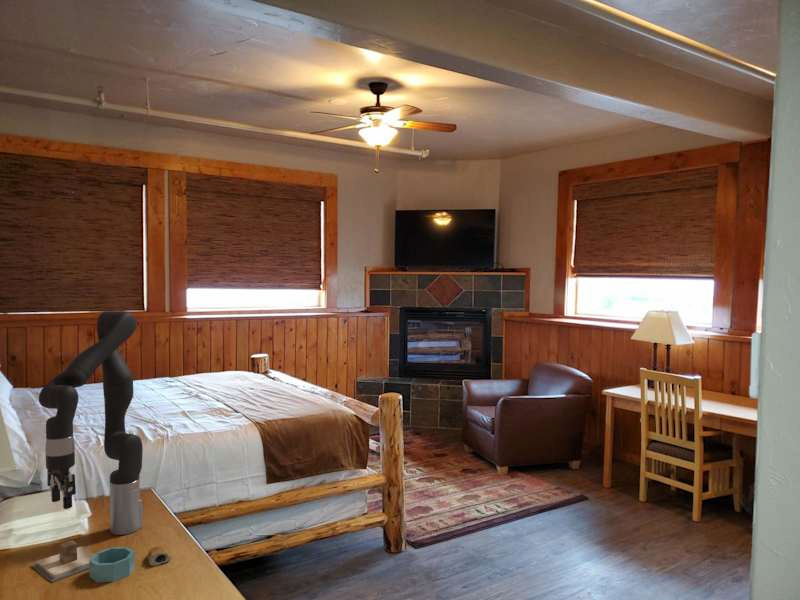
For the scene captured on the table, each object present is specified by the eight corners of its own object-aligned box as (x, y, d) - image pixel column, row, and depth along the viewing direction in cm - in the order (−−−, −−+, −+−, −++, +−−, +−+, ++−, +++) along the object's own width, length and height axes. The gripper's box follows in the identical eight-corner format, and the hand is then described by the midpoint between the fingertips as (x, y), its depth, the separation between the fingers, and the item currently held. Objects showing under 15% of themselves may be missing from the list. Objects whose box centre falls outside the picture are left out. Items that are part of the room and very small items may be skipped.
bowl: (121, 559, 181) (121, 543, 180) (140, 570, 174) (140, 554, 174) (84, 573, 172) (84, 557, 172) (102, 586, 165) (102, 568, 165)
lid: (81, 549, 186) (81, 530, 186) (100, 561, 178) (100, 542, 178) (36, 565, 176) (35, 545, 176) (54, 578, 168) (54, 558, 168)
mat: (83, 548, 188) (83, 547, 188) (105, 562, 179) (105, 561, 179) (31, 566, 176) (31, 565, 176) (52, 582, 167) (52, 581, 167)
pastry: (144, 555, 184) (144, 543, 184) (167, 550, 187) (167, 538, 187) (149, 568, 176) (149, 555, 176) (173, 562, 179) (173, 550, 179)
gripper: (83, 453, 174) (85, 506, 175) (63, 444, 183) (65, 495, 184) (56, 459, 168) (58, 514, 169) (37, 449, 177) (38, 502, 178)
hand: (61, 504), depth 176 cm, fingers open, 8 cm apart
